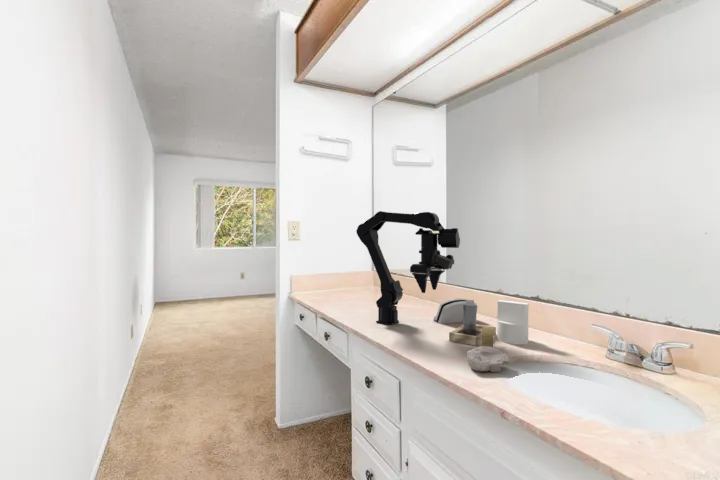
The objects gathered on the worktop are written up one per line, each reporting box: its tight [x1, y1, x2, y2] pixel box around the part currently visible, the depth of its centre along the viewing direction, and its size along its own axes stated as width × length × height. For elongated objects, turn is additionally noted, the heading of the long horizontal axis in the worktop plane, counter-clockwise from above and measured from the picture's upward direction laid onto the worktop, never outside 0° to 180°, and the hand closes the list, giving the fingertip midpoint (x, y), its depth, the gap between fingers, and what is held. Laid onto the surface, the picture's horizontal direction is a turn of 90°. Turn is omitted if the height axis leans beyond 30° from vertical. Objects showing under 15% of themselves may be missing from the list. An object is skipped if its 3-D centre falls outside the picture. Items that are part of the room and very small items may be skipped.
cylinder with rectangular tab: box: [496, 299, 530, 345], centre depth 114 cm, size 9×9×12 cm
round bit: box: [462, 299, 477, 336], centre depth 114 cm, size 4×4×12 cm
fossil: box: [466, 346, 510, 373], centre depth 90 cm, size 9×6×10 cm
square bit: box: [482, 325, 494, 348], centre depth 102 cm, size 3×3×7 cm
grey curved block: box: [432, 298, 478, 325], centre depth 139 cm, size 17×5×10 cm, turn 111°
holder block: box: [448, 323, 497, 347], centre depth 117 cm, size 10×16×2 cm, turn 145°
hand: (429, 291), depth 130 cm, fingers open, 9 cm apart
